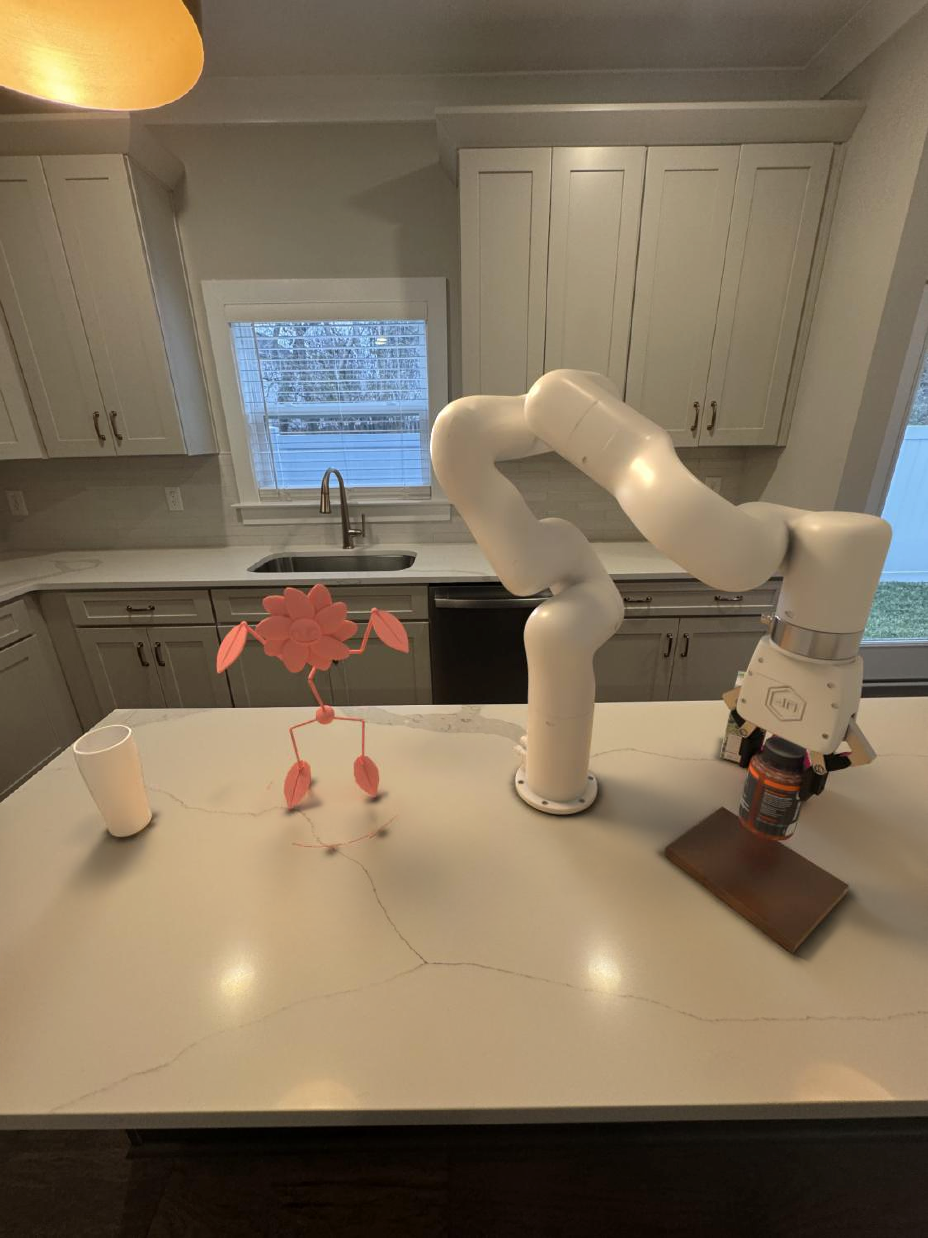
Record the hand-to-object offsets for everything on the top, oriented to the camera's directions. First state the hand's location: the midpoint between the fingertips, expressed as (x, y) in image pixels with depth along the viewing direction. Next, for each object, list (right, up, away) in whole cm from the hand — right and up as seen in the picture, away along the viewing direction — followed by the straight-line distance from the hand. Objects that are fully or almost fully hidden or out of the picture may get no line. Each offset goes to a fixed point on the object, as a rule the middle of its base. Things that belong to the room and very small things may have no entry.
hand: (777, 777), depth 58 cm
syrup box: (+11, -5, +28) cm, 30 cm away
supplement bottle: (0, -7, +3) cm, 7 cm away
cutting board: (0, -14, +6) cm, 15 cm away
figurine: (-56, -11, +17) cm, 59 cm away
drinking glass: (-84, -12, +15) cm, 87 cm away
